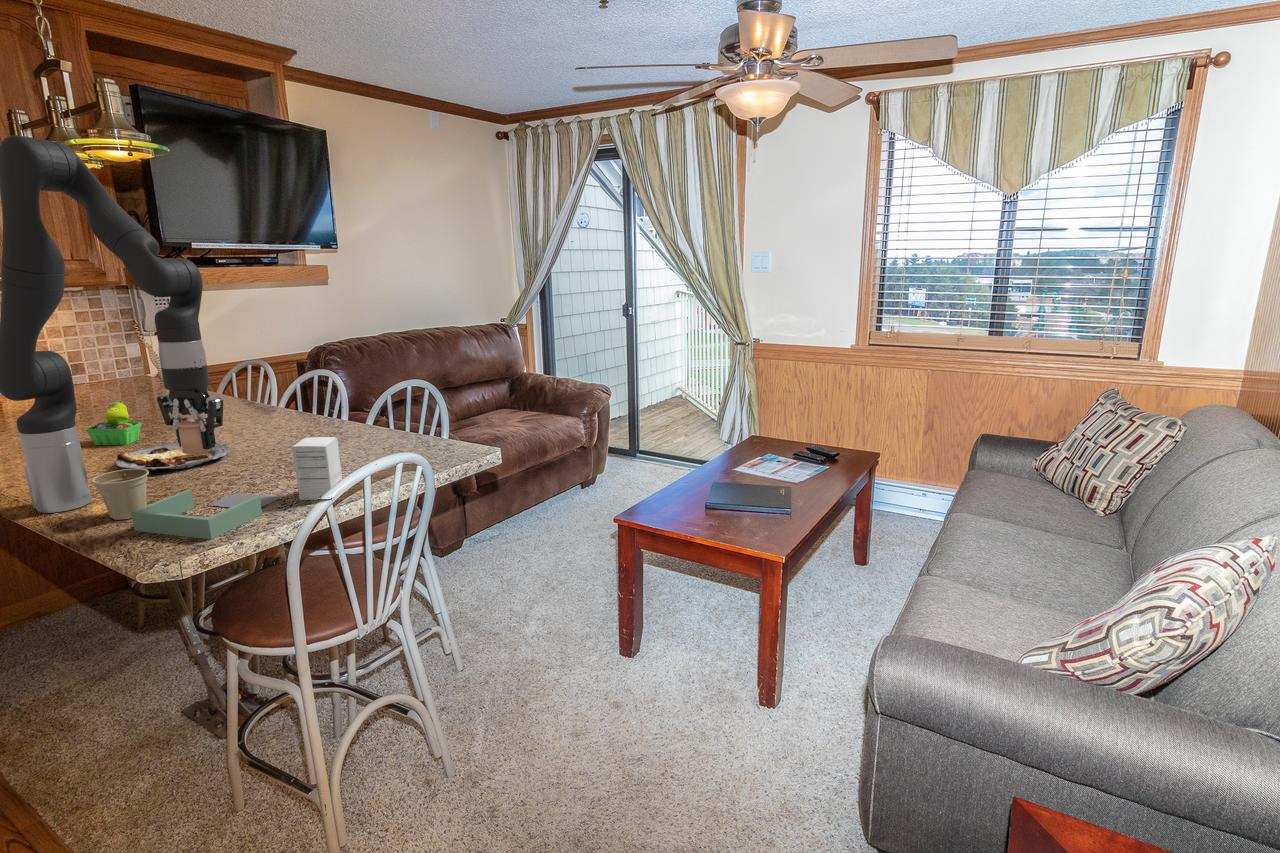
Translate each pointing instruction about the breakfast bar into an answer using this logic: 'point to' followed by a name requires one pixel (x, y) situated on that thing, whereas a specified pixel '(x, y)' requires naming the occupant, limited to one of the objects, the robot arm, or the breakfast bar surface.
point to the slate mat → (242, 497)
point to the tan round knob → (191, 436)
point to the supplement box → (316, 466)
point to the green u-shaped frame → (192, 517)
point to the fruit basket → (115, 428)
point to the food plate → (167, 457)
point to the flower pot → (123, 491)
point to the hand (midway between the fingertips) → (197, 447)
